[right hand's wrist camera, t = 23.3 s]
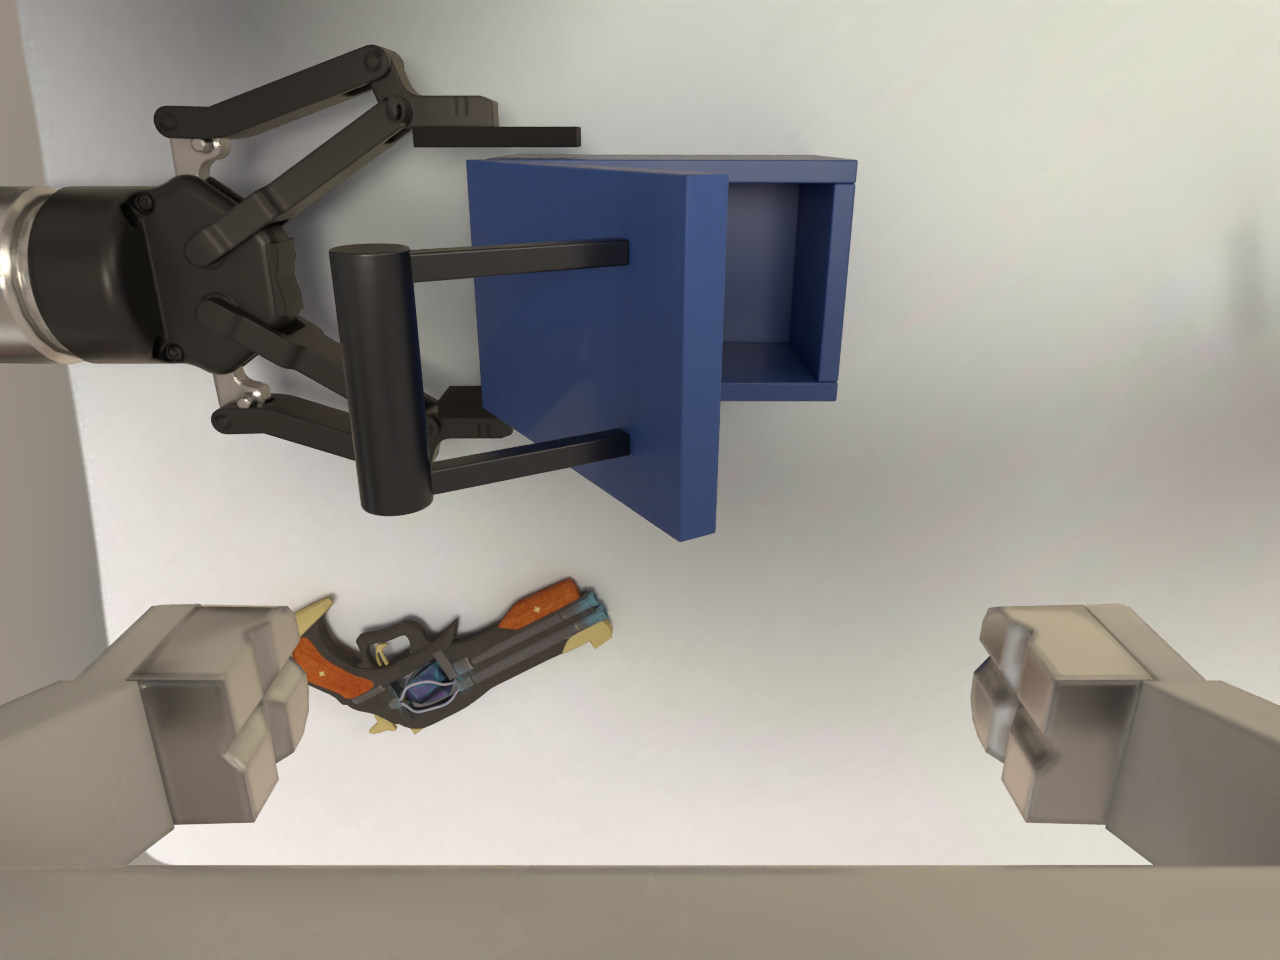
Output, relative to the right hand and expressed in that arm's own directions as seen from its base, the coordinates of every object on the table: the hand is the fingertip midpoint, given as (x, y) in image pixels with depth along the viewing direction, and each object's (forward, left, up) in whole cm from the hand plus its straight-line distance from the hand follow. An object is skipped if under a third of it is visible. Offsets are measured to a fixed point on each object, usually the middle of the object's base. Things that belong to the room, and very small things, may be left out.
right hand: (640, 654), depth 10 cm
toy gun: (-12, +21, -36) cm, 44 cm away
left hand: (+1, +2, -30) cm, 30 cm away
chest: (-1, -1, -36) cm, 36 cm away
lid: (+1, +1, -20) cm, 21 cm away
